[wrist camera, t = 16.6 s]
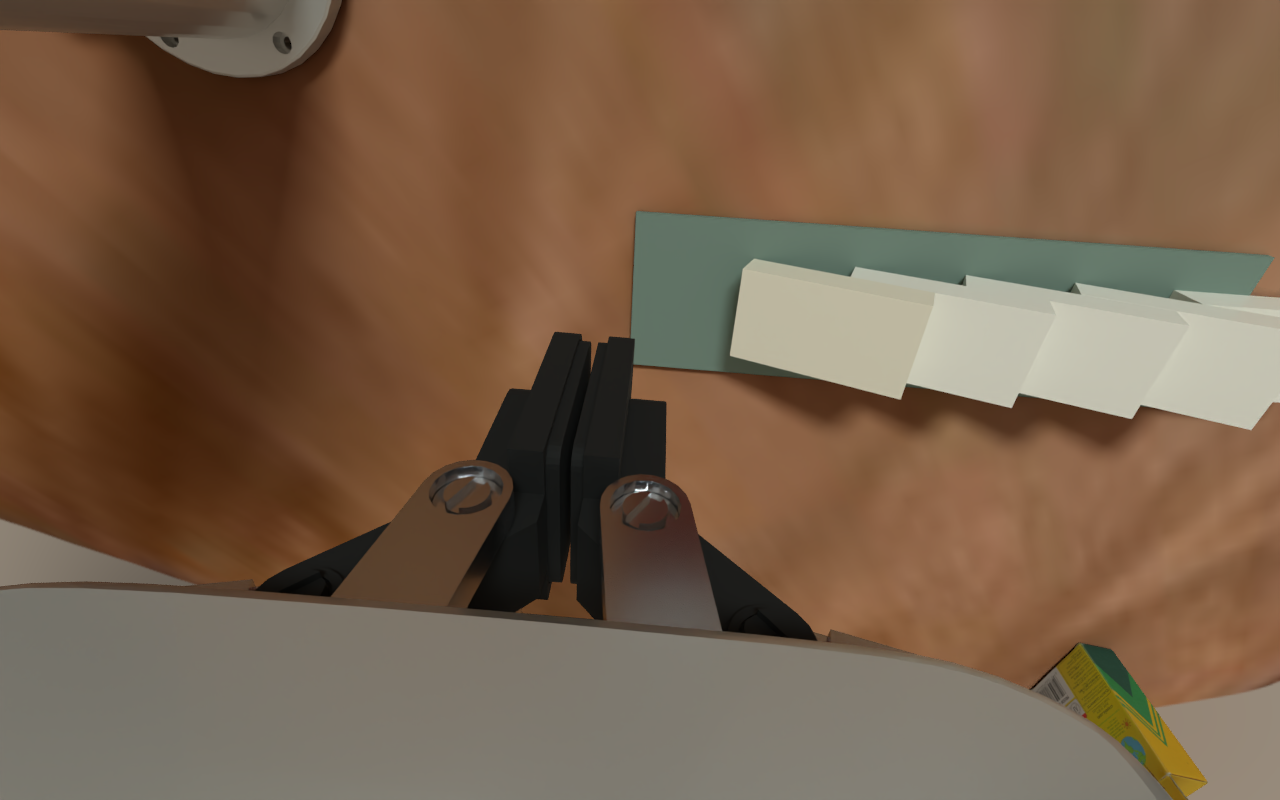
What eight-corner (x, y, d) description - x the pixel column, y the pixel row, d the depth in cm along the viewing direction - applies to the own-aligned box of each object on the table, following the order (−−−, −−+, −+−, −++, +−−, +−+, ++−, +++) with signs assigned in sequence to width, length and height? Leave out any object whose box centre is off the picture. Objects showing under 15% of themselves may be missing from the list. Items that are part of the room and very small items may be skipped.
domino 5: (1149, 391, 30) (1326, 406, 29) (1203, 304, 27) (1398, 318, 27) (1125, 373, 32) (1291, 387, 31) (1173, 290, 29) (1356, 303, 28)
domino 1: (729, 355, 31) (900, 399, 28) (742, 268, 28) (933, 306, 25) (740, 342, 33) (903, 382, 29) (754, 258, 30) (934, 292, 27)
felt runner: (630, 360, 34) (629, 363, 34) (636, 211, 30) (636, 212, 29) (1169, 405, 33) (1174, 409, 32) (1267, 254, 28) (1274, 257, 28)
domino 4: (1038, 381, 30) (1250, 430, 27) (1081, 294, 28) (1323, 336, 24) (1034, 366, 32) (1235, 410, 29) (1075, 282, 29) (1301, 321, 26)
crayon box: (1058, 698, 48) (1152, 864, 38) (1026, 691, 48) (1112, 856, 38) (1115, 648, 44) (1236, 819, 34) (1079, 640, 44) (1191, 809, 34)
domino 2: (827, 364, 31) (1011, 408, 28) (850, 277, 28) (1056, 314, 25) (833, 350, 32) (1008, 390, 29) (855, 266, 30) (1049, 300, 27)
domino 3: (933, 373, 30) (1131, 419, 27) (966, 286, 28) (1189, 325, 25) (934, 358, 32) (1122, 400, 29) (965, 274, 29) (1175, 310, 26)
